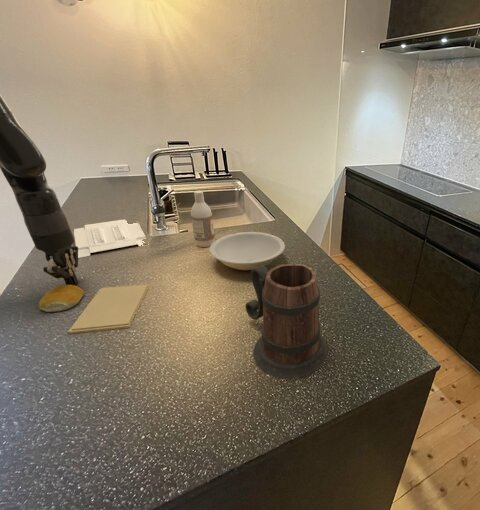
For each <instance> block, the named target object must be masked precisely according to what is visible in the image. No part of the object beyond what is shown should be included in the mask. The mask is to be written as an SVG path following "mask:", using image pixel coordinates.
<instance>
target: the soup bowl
mask: <svg viewBox="0 0 480 510" xmlns="http://www.w3.org/2000/svg"><path fill="white" fill-rule="evenodd" d="M285 249H286V243H285V242H284V240H283V239H281V238H280V237H278V236H276V235H274V234H271V233H266V232H260V231H242V232H235V233H230V234H227V235H224V236H222V237H219V238H217V239H215V241H214V242H213V243H212V244H211V246H209V254H210V255H211V256H212V257H213V258H214V259H216V260H217V261H220V262H221V263H222V264H223V265H225V266H227V267H229V268H231V269H234V270H239V271H251V270H252V269H253V268H256V267H258V266H260V265H262V266H265V267H266V266H268V265H270V264H272V263H273V262H274V261H275V260H276V259H277V258H278V257H280V255H282V254H283V253H284V251H285Z"/></svg>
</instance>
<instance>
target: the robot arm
mask: <svg viewBox="0 0 480 510" xmlns="http://www.w3.org/2000/svg"><path fill="white" fill-rule="evenodd" d="M46 169H47V161H46V157H45V156H44V154H43V153H42V152H41V150H40V149H39V148H38V146H37V145H36V143H35V142H34V141H33V139H32V138H31V137H30V136H29V134H28V133H27V132H26V131H25V129H23V127H22V126H21V125H20V123H19V121H18V120H17V118H16V116H15V114H14V112H13V111H12V110H11V108H10V107H9V104H7V101H5V99H4V97H3V96H2V94H1V93H0V171H1V172H2V174H3V176H4V178H5V180H6V182H7V183H8V185H9V186H10V188H11V191H12V193H13V195H14V198H15V201H16V204H17V205H18V207H19V210H20V212H21V214H22V218H23V221H24V224H25V226H26V229H27V232H28V234H29V236H30V238H31V241H32V242H33V244H34V247H35V249H36V250H38V251H41V252H43V253H44V254H45V260H46V261H47V262H48V263H47V266H44V267H43V268H42V270H43V272H44V273H45V274H47V275H49V276H51V277H52V278H55V279H63V281H64V283H65V285H75V286H79V284H80V282H79V280H78V277H77V275H76V272H77V269H76V268H78V267H79V258H78V247H77V246H76V245H75V246H73V245H74V243H75V237H74V233H73V232H72V230H71V229H72V228H71V227H70V224H69V221H68V219H67V217H66V215H65V212H64V210H63V209H62V207H61V204H60V202H59V199H58V196H57V193H56V192H55V190H54V189H53V187H52V186H51V185H50V184H49V182H48V179H47V177H46V175H45V171H46Z"/></svg>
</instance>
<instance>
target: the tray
mask: <svg viewBox="0 0 480 510" xmlns="http://www.w3.org/2000/svg"><path fill="white" fill-rule="evenodd" d="M127 221H128V220H127V219H118V220H111V221H104V222H96V223H89V224H83V225H84V226H83V227H79V228H78V227H77V228H73V237H74V240H75V241H74V243H75V246H77V247H78V259H80V258H85V257H90V256H91V253H97V252H98V253H99V252H103V251H109V250H114V249H119V248H125V247H129V246H136V245H138V247H143V246H145V245H143V243H145V242H144V241H142V240H143V239H147V237H146V235H145V233H144V231H143V229H142V227H141V224H140V222H139V221H137V223H133V224H128V223H127ZM142 242H143V243H142ZM141 245H142V246H141ZM148 245H149V246H150V243H149V244H148ZM148 245H147V246H148Z"/></svg>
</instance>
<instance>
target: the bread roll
mask: <svg viewBox="0 0 480 510" xmlns="http://www.w3.org/2000/svg"><path fill="white" fill-rule="evenodd" d="M84 295H85V291H84V290H83V289H82V288H81V287H79V285H77V286H75V285H66V284H62V285H58V286H55V287H54V288H51V289H50V290H48V291H46V292H45V293H44V294H43V295H42V298H41V299H40V300H39V301H38V307H39V309H40V310H41V311H43V312H46V313H53V312H63V311H66V310H69V309H71V308H73V307H74V306H77V304H78V303H79V302H80V301H81V299H82V298H83V296H84Z"/></svg>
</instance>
